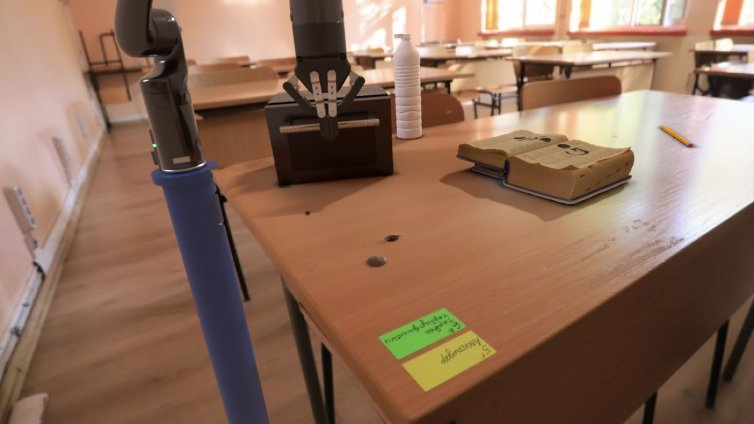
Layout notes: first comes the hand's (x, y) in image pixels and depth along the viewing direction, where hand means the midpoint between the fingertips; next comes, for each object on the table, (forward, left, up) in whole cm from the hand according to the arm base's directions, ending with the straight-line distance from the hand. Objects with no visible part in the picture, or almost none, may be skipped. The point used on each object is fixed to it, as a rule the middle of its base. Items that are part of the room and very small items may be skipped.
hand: (330, 139), depth 66 cm
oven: (-9, +18, -10) cm, 22 cm away
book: (+31, +19, -10) cm, 37 cm away
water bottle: (-2, +45, -10) cm, 46 cm away
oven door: (-4, +8, -10) cm, 13 cm away
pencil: (+58, +53, -10) cm, 79 cm away
